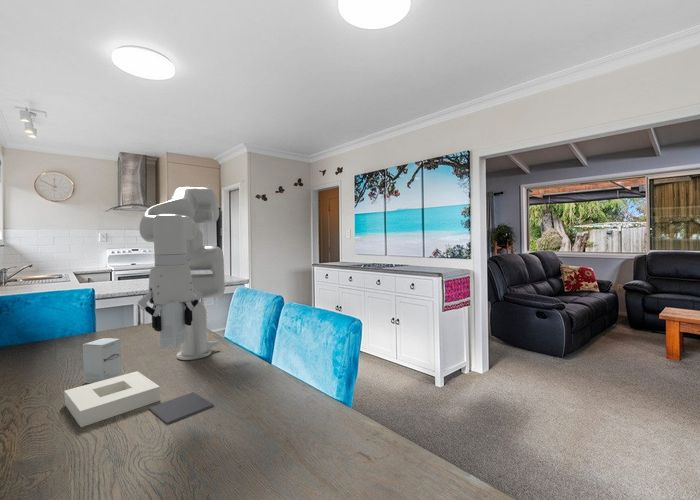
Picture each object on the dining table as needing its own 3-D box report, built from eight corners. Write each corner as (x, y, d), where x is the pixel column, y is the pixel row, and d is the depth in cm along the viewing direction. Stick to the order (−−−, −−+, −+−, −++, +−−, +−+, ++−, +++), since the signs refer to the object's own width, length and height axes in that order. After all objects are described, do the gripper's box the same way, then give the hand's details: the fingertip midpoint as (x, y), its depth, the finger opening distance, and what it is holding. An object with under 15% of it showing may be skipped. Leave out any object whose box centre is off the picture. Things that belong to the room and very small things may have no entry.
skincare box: (169, 342, 96) (169, 299, 96) (185, 341, 96) (185, 298, 96) (159, 349, 90) (158, 302, 90) (176, 348, 90) (175, 302, 90)
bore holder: (137, 383, 110) (137, 371, 110) (160, 400, 98) (159, 386, 98) (65, 404, 96) (64, 390, 96) (80, 427, 84) (80, 411, 84)
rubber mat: (193, 393, 102) (193, 391, 102) (213, 406, 94) (213, 404, 94) (148, 409, 93) (148, 407, 93) (166, 424, 85) (166, 422, 85)
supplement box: (102, 384, 109) (101, 345, 109) (83, 383, 111) (81, 344, 111) (122, 375, 117) (120, 338, 116) (103, 374, 118) (102, 337, 118)
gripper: (197, 258, 101) (198, 319, 102) (128, 262, 89) (131, 332, 89) (209, 259, 96) (211, 323, 97) (138, 263, 83) (141, 337, 84)
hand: (173, 327), depth 93 cm, fingers closed on skincare box, 7 cm apart
